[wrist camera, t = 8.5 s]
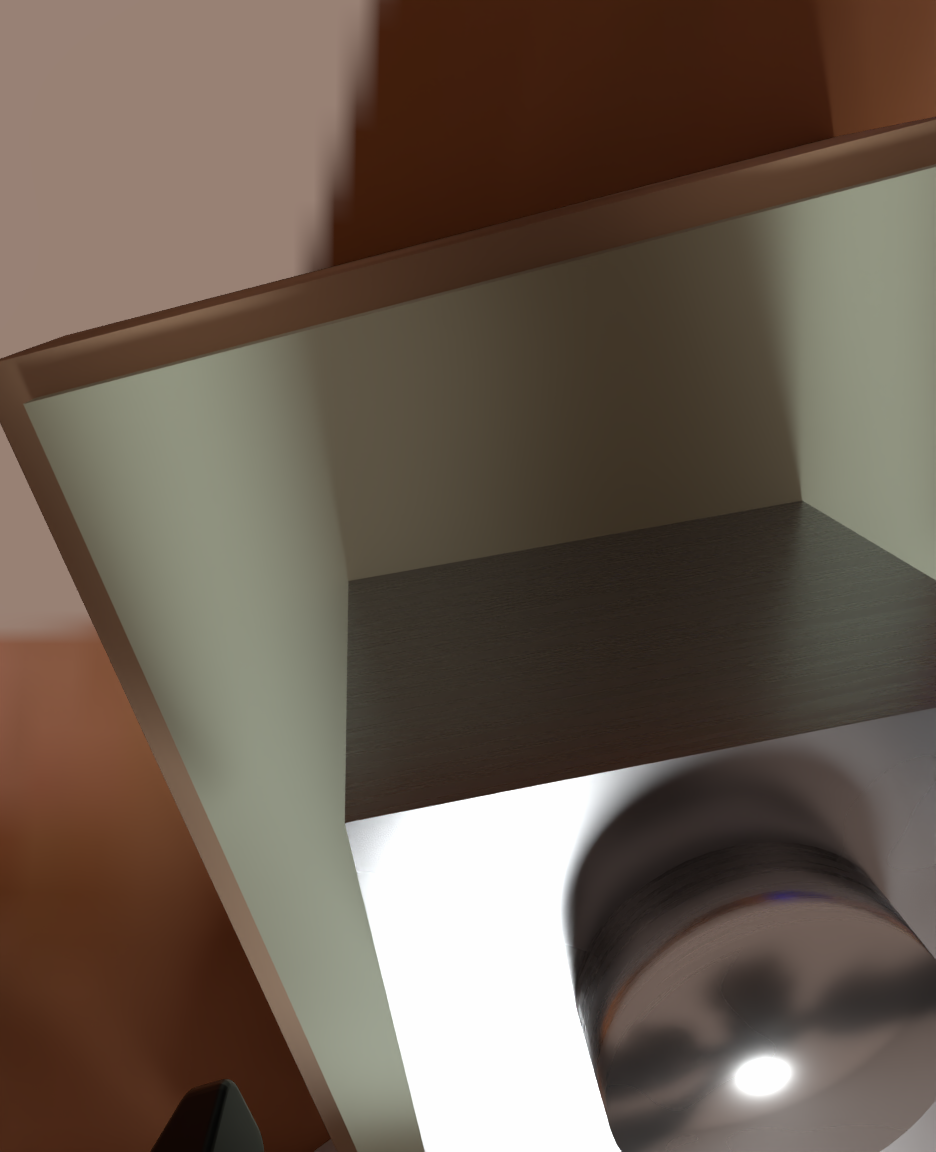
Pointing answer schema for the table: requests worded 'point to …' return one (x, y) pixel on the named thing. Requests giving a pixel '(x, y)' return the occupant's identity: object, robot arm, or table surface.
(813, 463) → the stand
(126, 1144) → the table surface
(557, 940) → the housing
